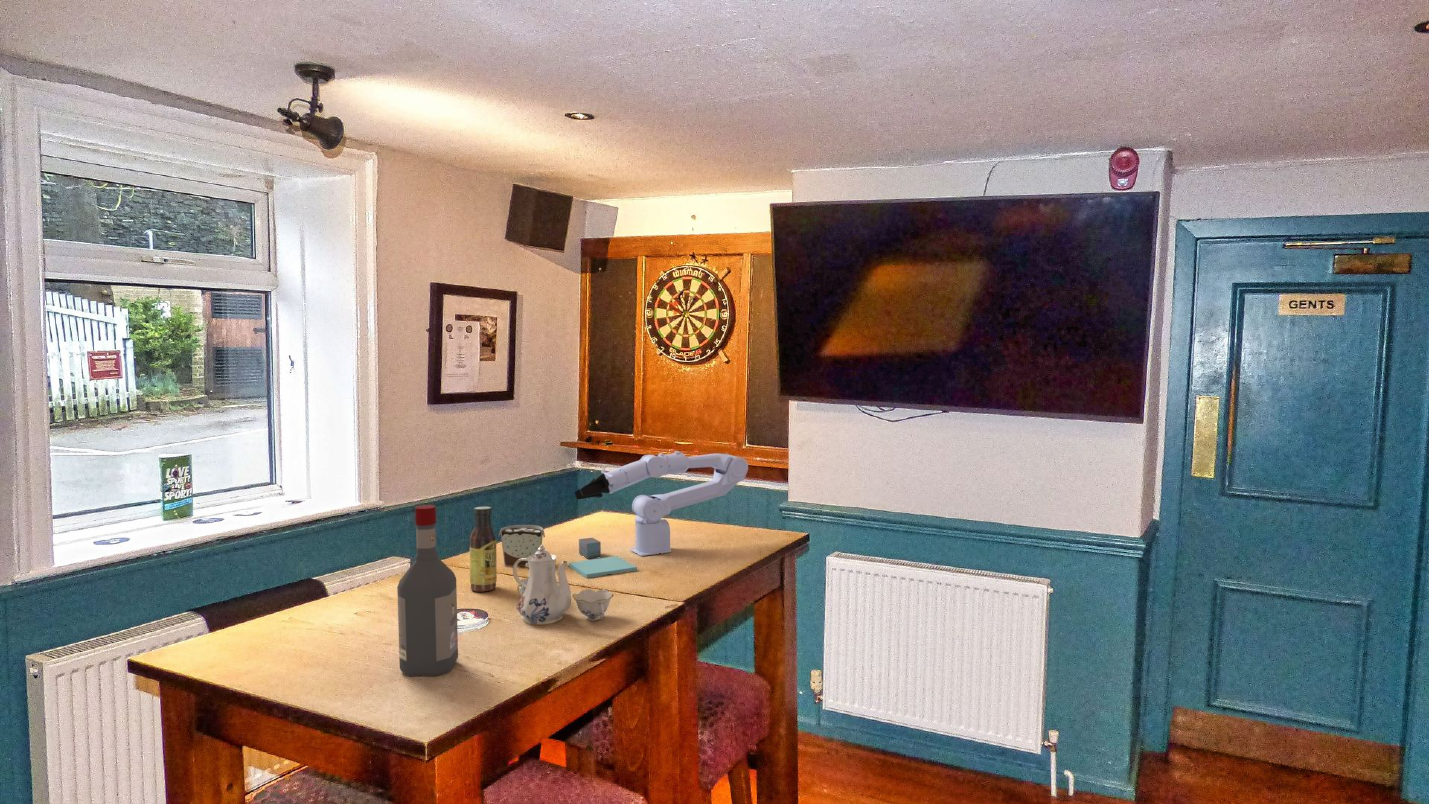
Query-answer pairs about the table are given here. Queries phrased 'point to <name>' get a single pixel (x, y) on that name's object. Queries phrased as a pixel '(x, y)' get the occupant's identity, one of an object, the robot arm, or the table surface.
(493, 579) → the sauce bottle
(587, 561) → the teal board
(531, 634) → the table surface
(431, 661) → the liquor
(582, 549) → the block
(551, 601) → the chinaware
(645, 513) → the robot arm
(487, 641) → the table surface
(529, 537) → the food container
